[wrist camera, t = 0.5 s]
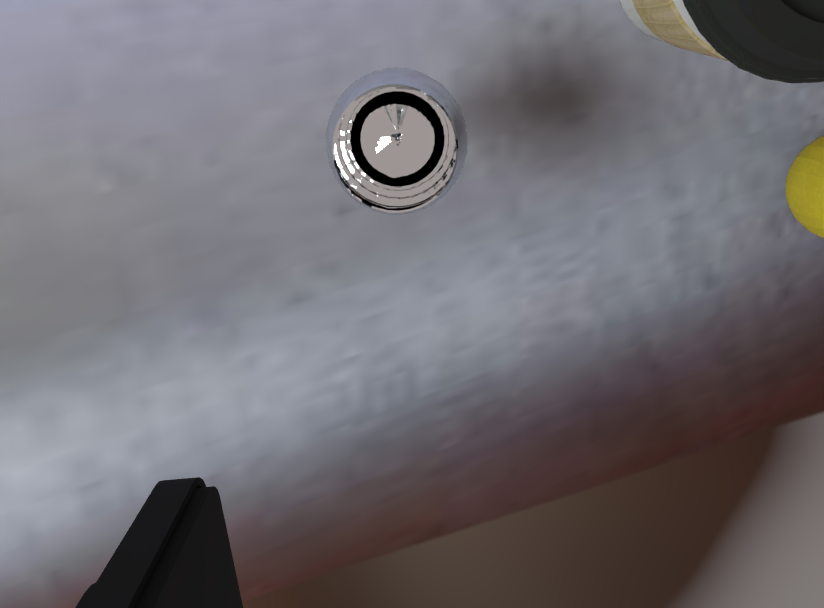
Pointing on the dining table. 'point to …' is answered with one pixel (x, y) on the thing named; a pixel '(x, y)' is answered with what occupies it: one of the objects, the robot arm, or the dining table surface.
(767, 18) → the coffee cup
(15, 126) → the dining table surface
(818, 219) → the lemon
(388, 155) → the wineglass
